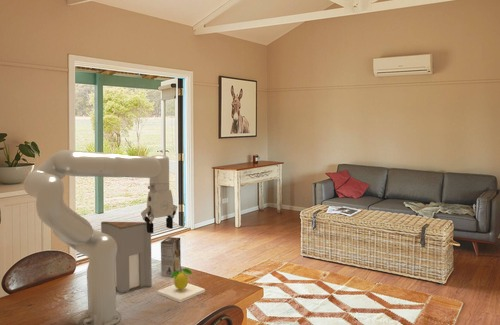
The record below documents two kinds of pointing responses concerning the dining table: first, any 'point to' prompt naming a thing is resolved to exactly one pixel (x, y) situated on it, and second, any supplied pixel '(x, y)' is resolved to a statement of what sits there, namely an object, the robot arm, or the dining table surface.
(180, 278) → the lemon
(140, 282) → the cabinet
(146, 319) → the dining table surface
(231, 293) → the dining table surface
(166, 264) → the coffee box
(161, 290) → the plate
